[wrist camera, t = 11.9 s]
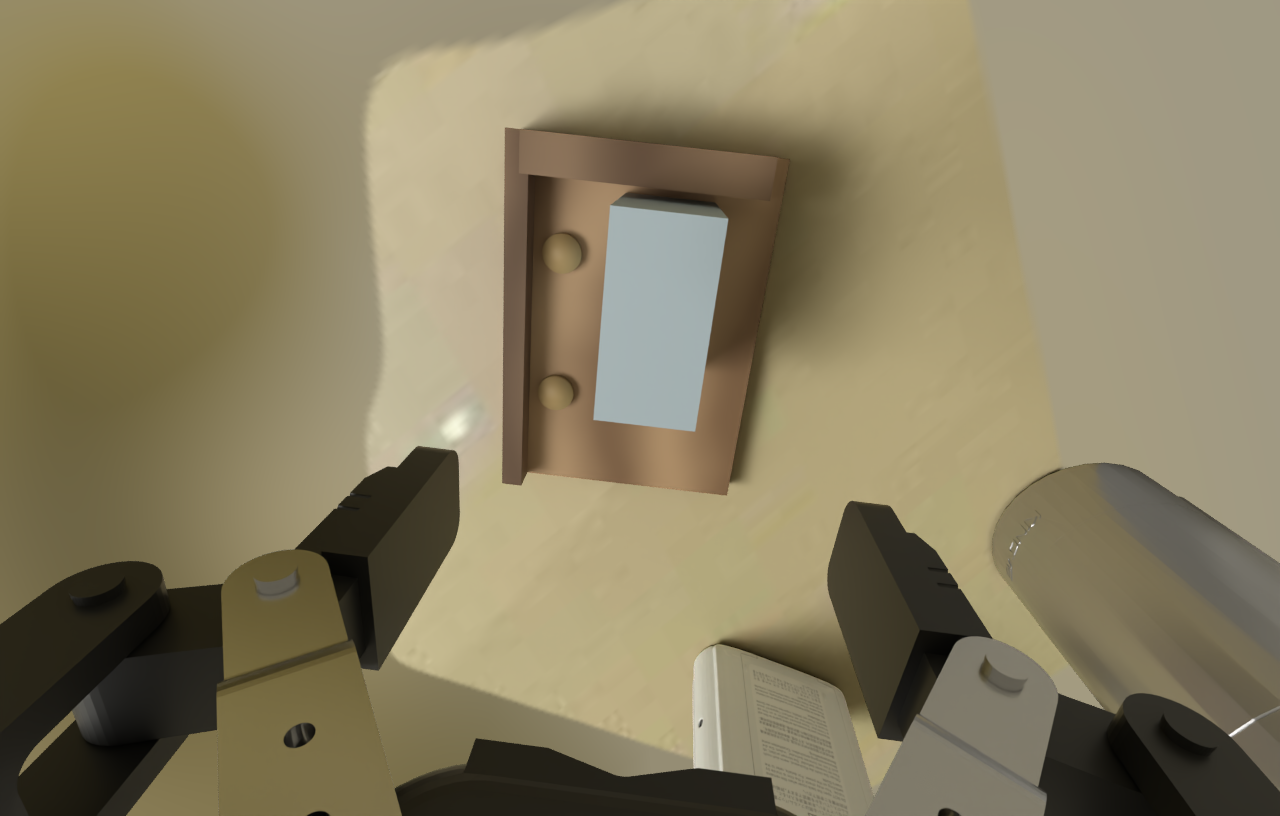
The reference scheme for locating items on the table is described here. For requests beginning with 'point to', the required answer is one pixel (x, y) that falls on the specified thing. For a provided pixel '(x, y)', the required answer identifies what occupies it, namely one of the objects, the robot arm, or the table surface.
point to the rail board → (573, 296)
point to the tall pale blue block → (657, 309)
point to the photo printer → (778, 732)
